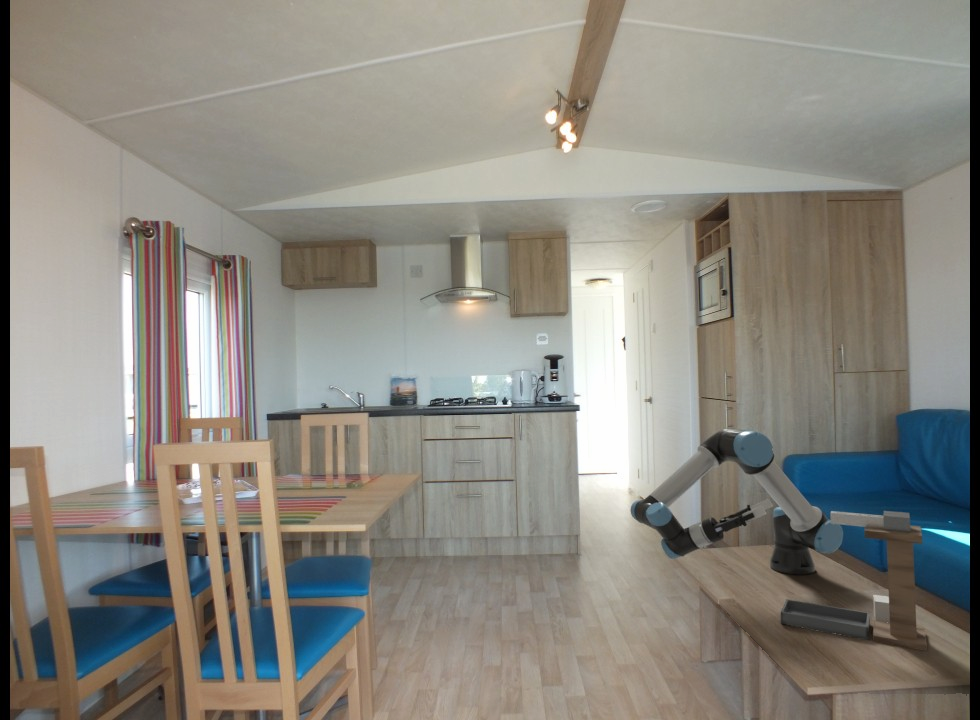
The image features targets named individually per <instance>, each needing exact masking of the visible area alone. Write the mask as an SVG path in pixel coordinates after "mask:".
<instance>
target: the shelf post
mask: <svg viewBox="0 0 980 720" xmlns="http://www.w3.org/2000/svg"><path fill="white" fill-rule="evenodd" d="M864 538H865V539H875V540H881V541H882V540H884V541H886V552H887V553H886V554H887V555H886V558H887V560H886V561H887V579H888V580H887V582H888V585H887V586H888V597H889V613H890V623H887V622H881V621H875V619H874V620H873V628H872V629H873V630H872V641H873V642H875V643H881V644H886V645H891V646H898V647H903V648H908V649H914V650H919V651H925V652H927V651H928V649H927V639H926V631H925V628H922V627H921V628H920V627H917V608H916V586H915V585H916V582H915V581H916V579H915V559H914V558H915V556H914V544H919V545H923V534H922V529H921V525H920V526H919V525H911V524H910V533H906V532H896V531H886V530H884V529H882V528H872V527H864Z"/></svg>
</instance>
